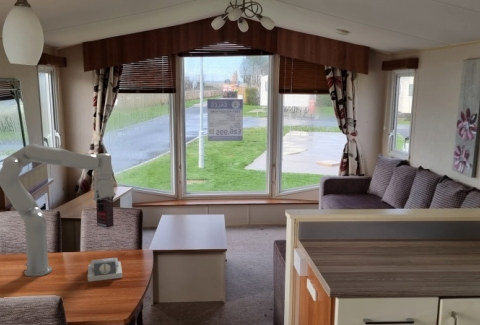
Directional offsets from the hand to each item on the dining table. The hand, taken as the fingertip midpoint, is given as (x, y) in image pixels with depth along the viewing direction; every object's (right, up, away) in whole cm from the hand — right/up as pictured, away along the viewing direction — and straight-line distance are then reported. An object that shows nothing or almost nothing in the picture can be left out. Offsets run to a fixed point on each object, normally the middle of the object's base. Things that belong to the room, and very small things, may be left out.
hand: (104, 209), depth 233 cm
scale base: (+4, -31, -14) cm, 34 cm away
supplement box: (0, -10, +1) cm, 10 cm away
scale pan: (+4, -26, -13) cm, 30 cm away
